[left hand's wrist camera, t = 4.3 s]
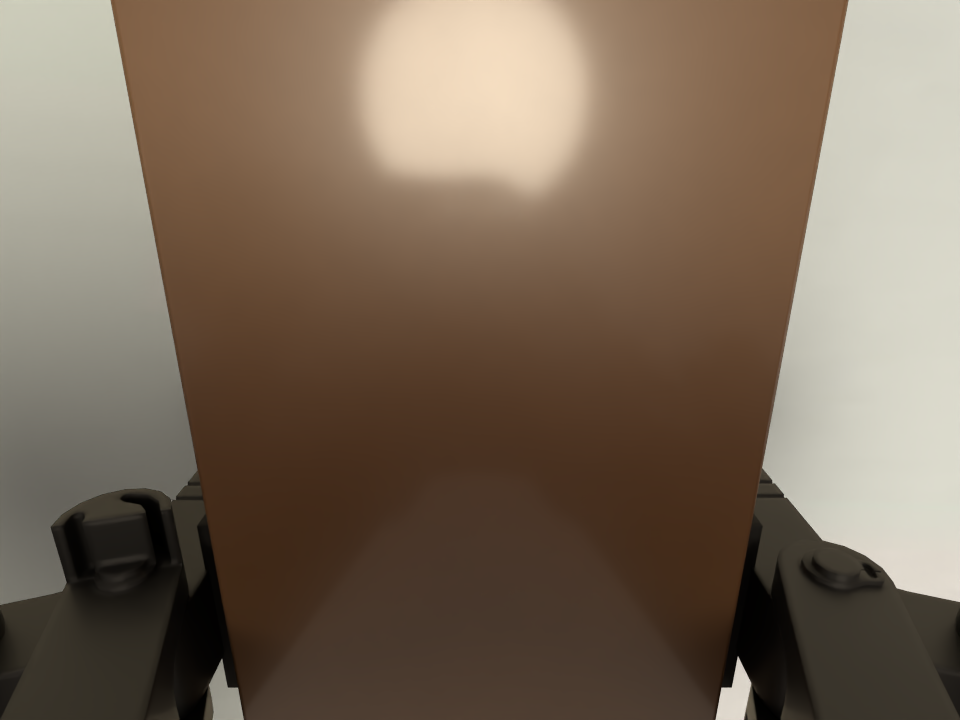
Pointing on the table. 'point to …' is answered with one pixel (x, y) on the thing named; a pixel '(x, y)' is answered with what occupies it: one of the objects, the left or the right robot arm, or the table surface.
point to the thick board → (479, 333)
